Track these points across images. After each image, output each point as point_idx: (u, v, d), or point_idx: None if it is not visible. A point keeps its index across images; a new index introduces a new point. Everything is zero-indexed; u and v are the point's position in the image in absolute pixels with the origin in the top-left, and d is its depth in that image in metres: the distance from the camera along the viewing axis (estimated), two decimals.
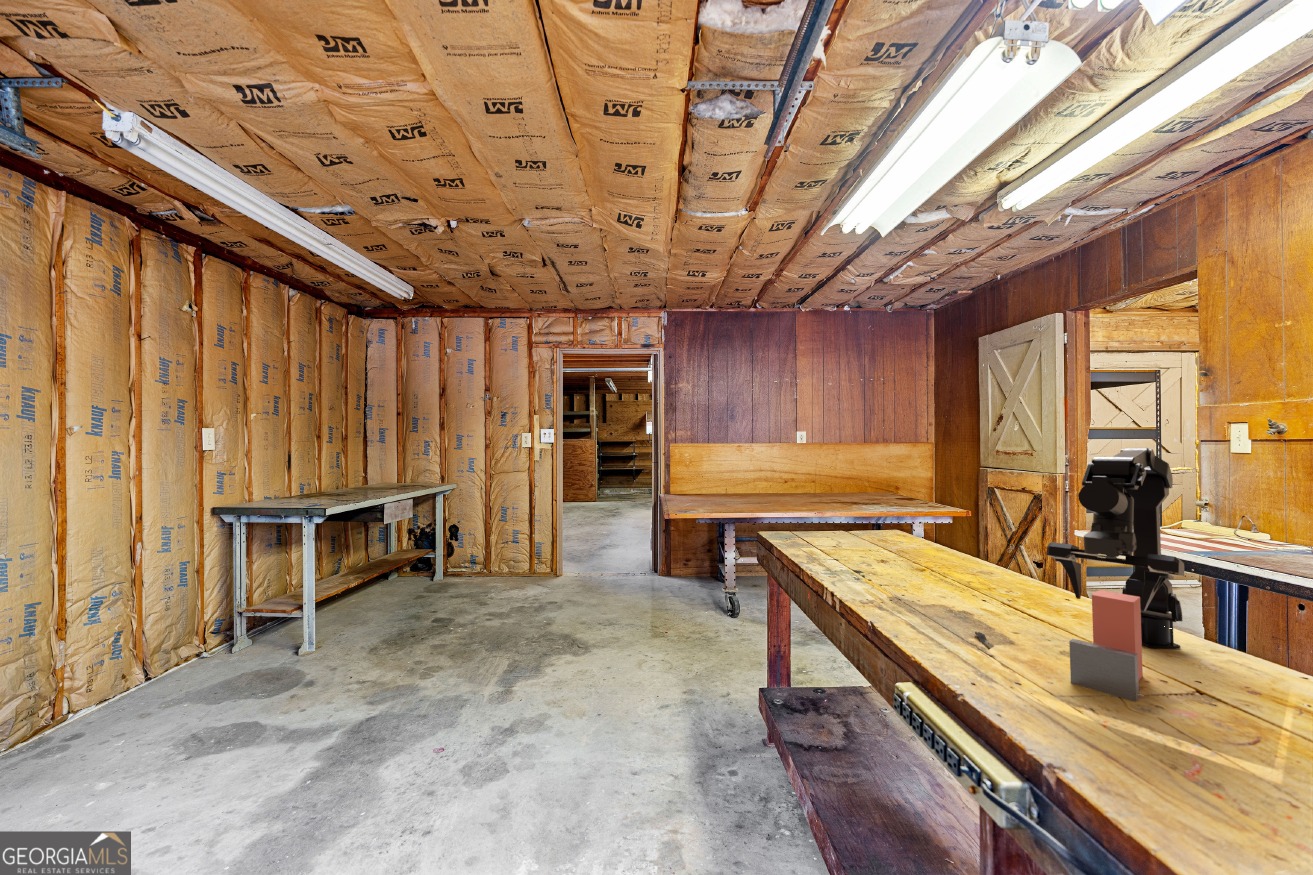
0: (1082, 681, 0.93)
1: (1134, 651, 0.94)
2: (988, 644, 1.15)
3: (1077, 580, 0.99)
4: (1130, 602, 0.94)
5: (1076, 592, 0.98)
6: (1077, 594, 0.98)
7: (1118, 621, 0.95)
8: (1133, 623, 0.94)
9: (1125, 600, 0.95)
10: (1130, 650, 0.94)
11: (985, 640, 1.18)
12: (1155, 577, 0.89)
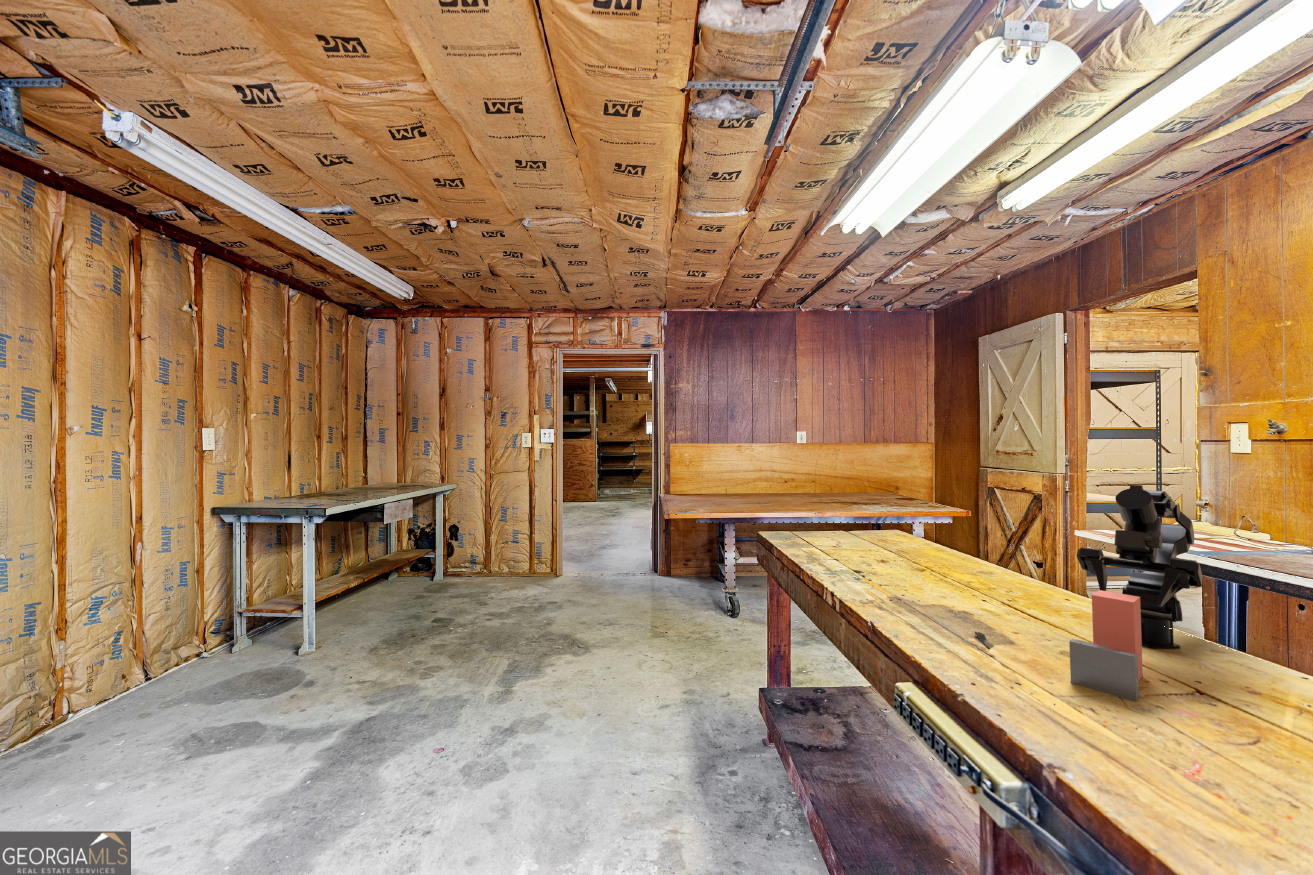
0: (1082, 681, 0.93)
1: (1134, 651, 0.94)
2: (988, 644, 1.15)
3: (1103, 579, 1.08)
4: (1130, 602, 0.94)
5: (1101, 588, 1.07)
6: (1102, 590, 1.07)
7: (1118, 621, 0.95)
8: (1133, 623, 0.94)
9: (1125, 600, 0.95)
10: (1130, 650, 0.94)
11: (985, 640, 1.18)
12: (1174, 574, 1.00)
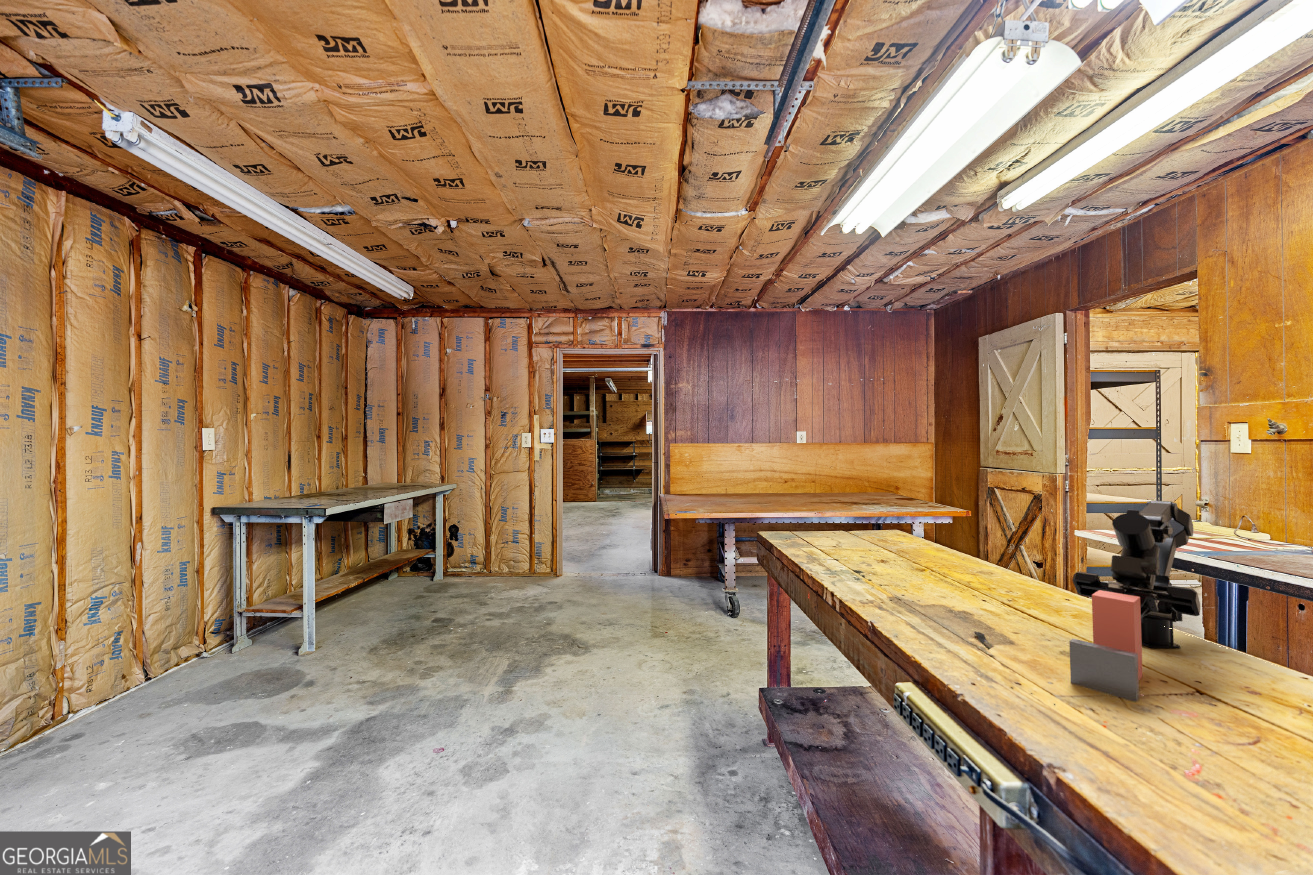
0: (1082, 681, 0.93)
1: (1134, 651, 0.94)
2: (987, 644, 1.15)
3: None
4: (1130, 602, 0.94)
5: None
6: None
7: (1118, 621, 0.95)
8: (1133, 623, 0.94)
9: (1125, 600, 0.95)
10: (1130, 650, 0.94)
11: (984, 640, 1.18)
12: (1142, 597, 1.01)
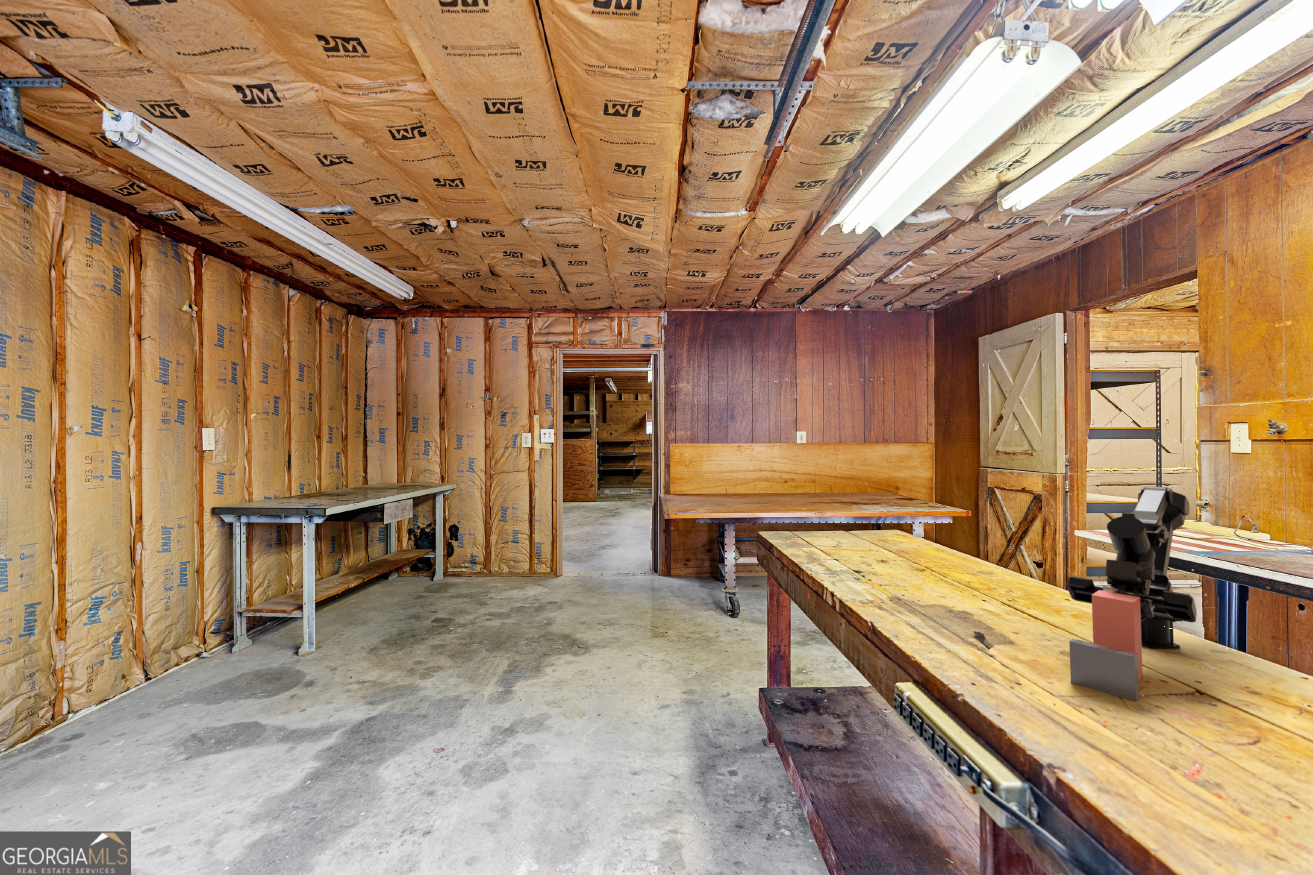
0: (1082, 681, 0.93)
1: (1134, 651, 0.94)
2: (987, 643, 1.15)
3: None
4: (1130, 602, 0.94)
5: None
6: None
7: (1118, 621, 0.95)
8: (1133, 623, 0.94)
9: (1125, 600, 0.95)
10: (1130, 650, 0.94)
11: (984, 639, 1.18)
12: None
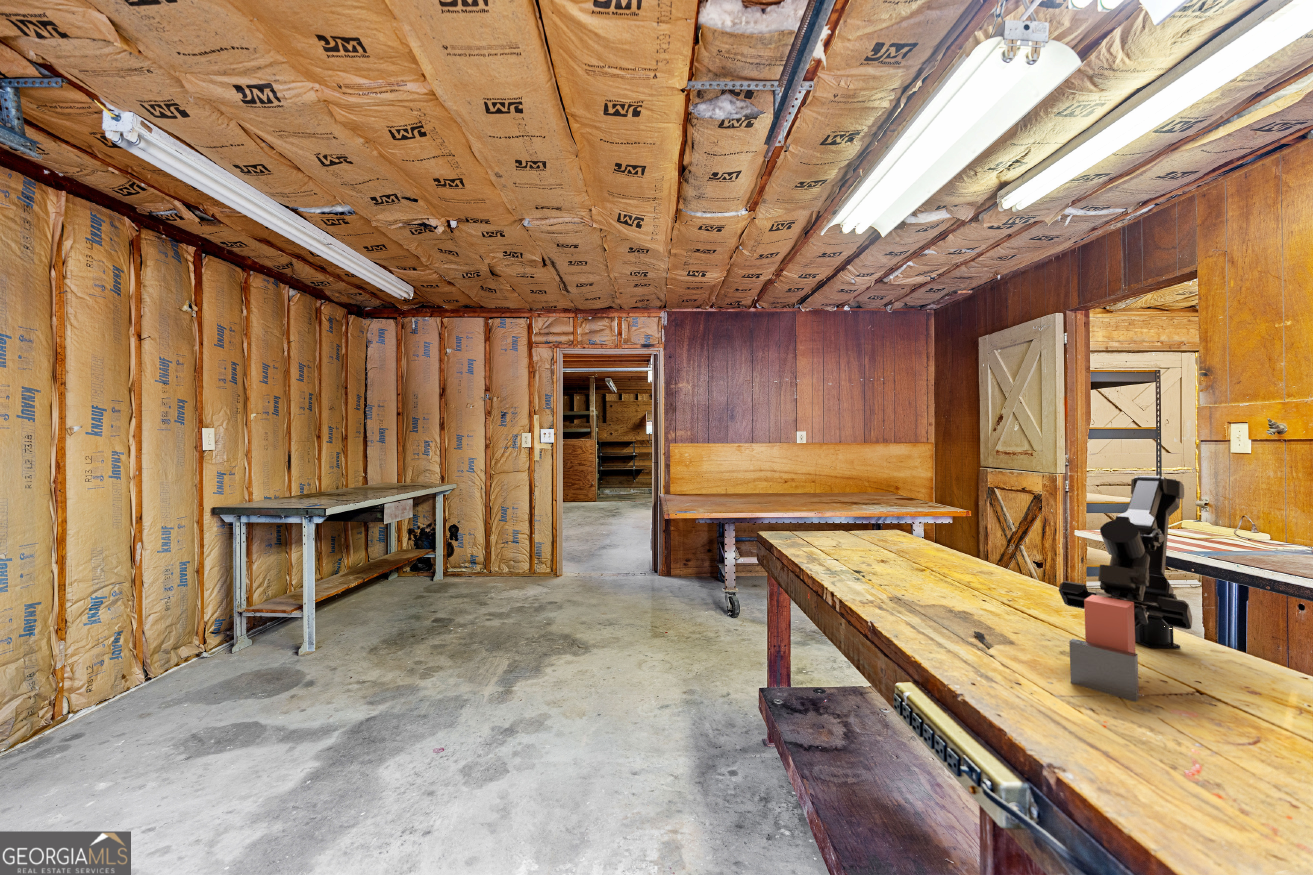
0: (1082, 681, 0.93)
1: None
2: (987, 643, 1.15)
3: None
4: (1123, 607, 0.91)
5: None
6: None
7: (1111, 627, 0.92)
8: (1126, 629, 0.91)
9: (1118, 605, 0.92)
10: None
11: (984, 639, 1.18)
12: None
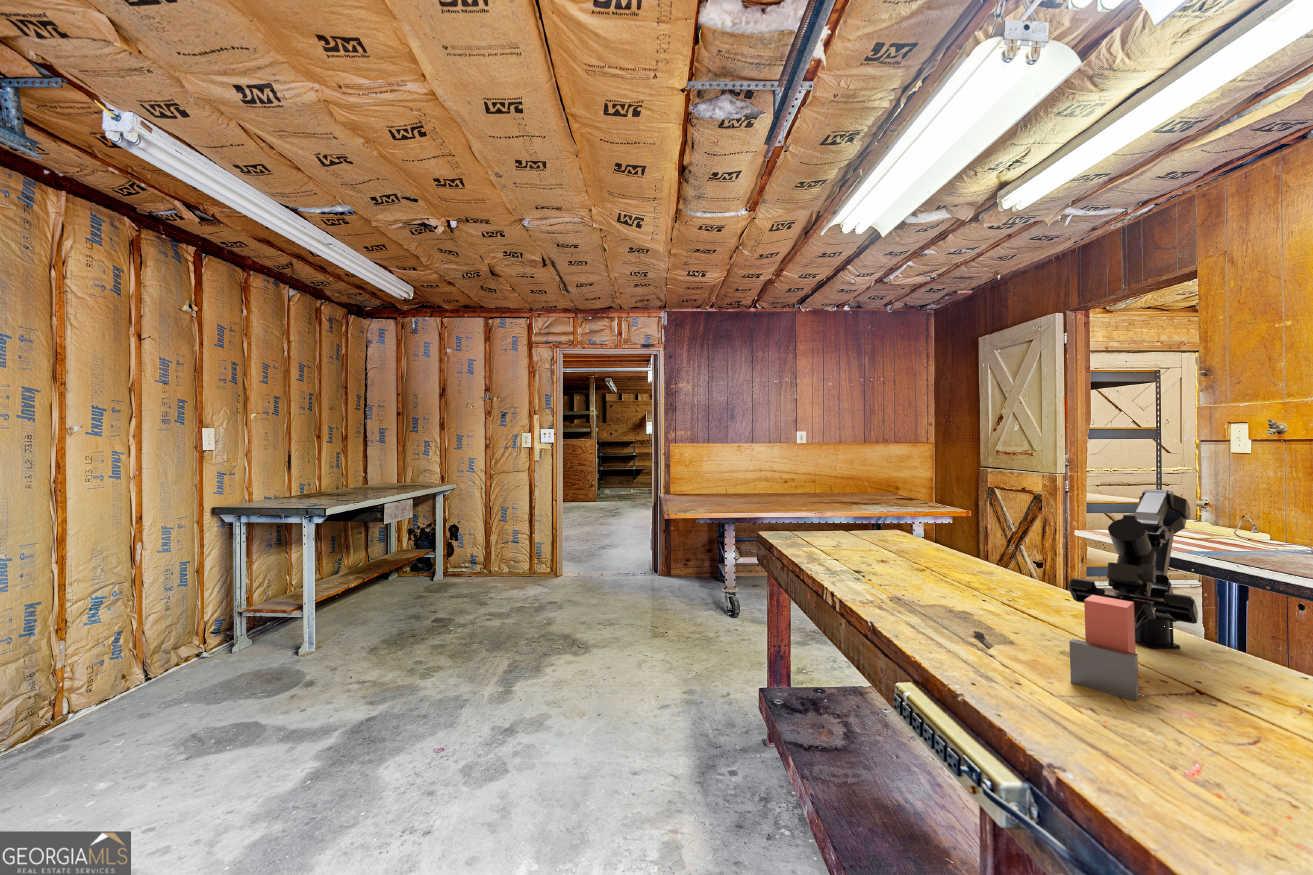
0: (1082, 681, 0.93)
1: None
2: (987, 643, 1.15)
3: None
4: (1123, 607, 0.91)
5: None
6: None
7: (1111, 627, 0.92)
8: (1126, 629, 0.91)
9: (1118, 605, 0.92)
10: None
11: (984, 639, 1.18)
12: (1139, 605, 1.00)
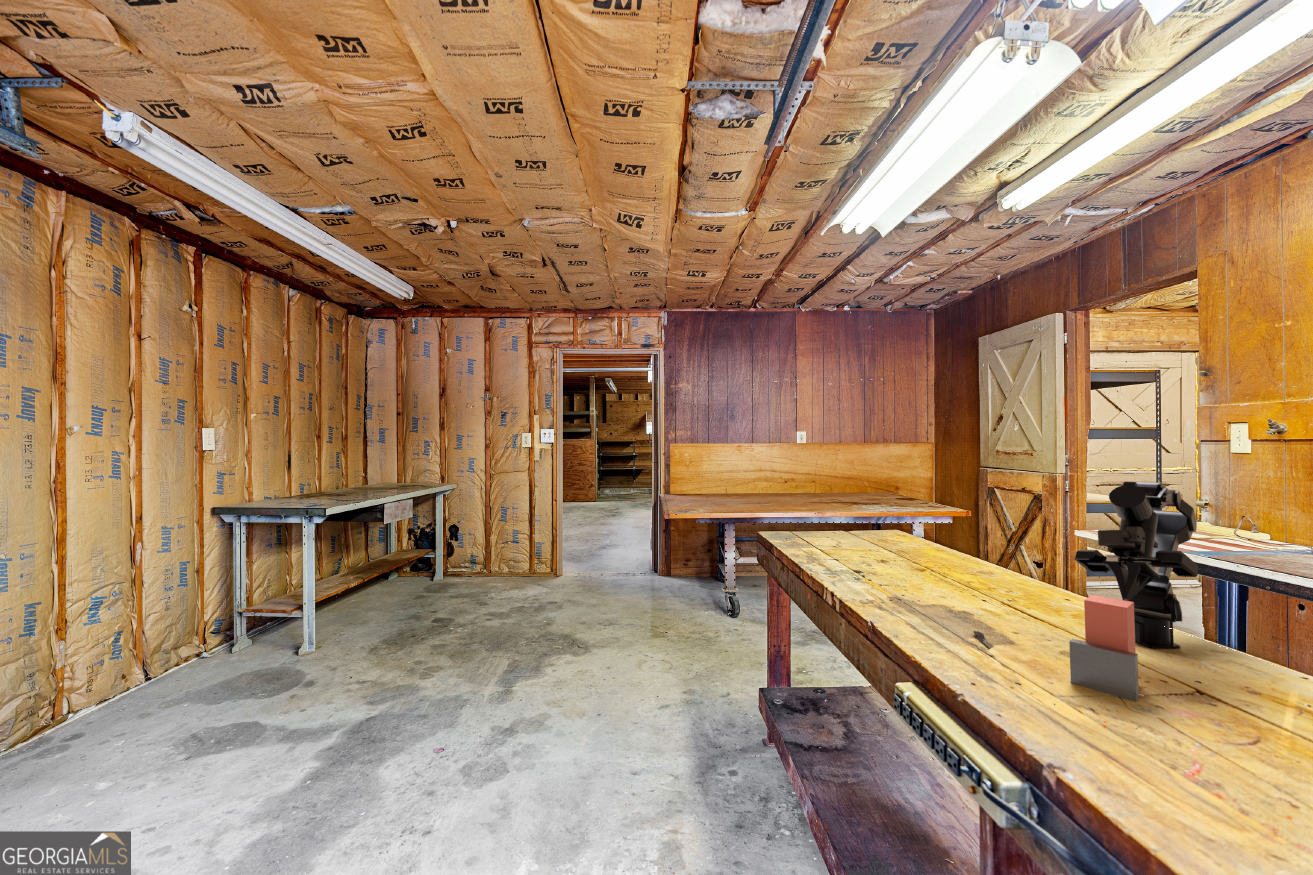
0: (1082, 681, 0.93)
1: None
2: (986, 643, 1.15)
3: (1124, 582, 1.05)
4: (1123, 607, 0.91)
5: (1122, 592, 1.05)
6: (1123, 593, 1.04)
7: (1111, 627, 0.92)
8: (1126, 629, 0.91)
9: (1118, 605, 0.92)
10: None
11: (984, 639, 1.18)
12: (1135, 567, 1.04)
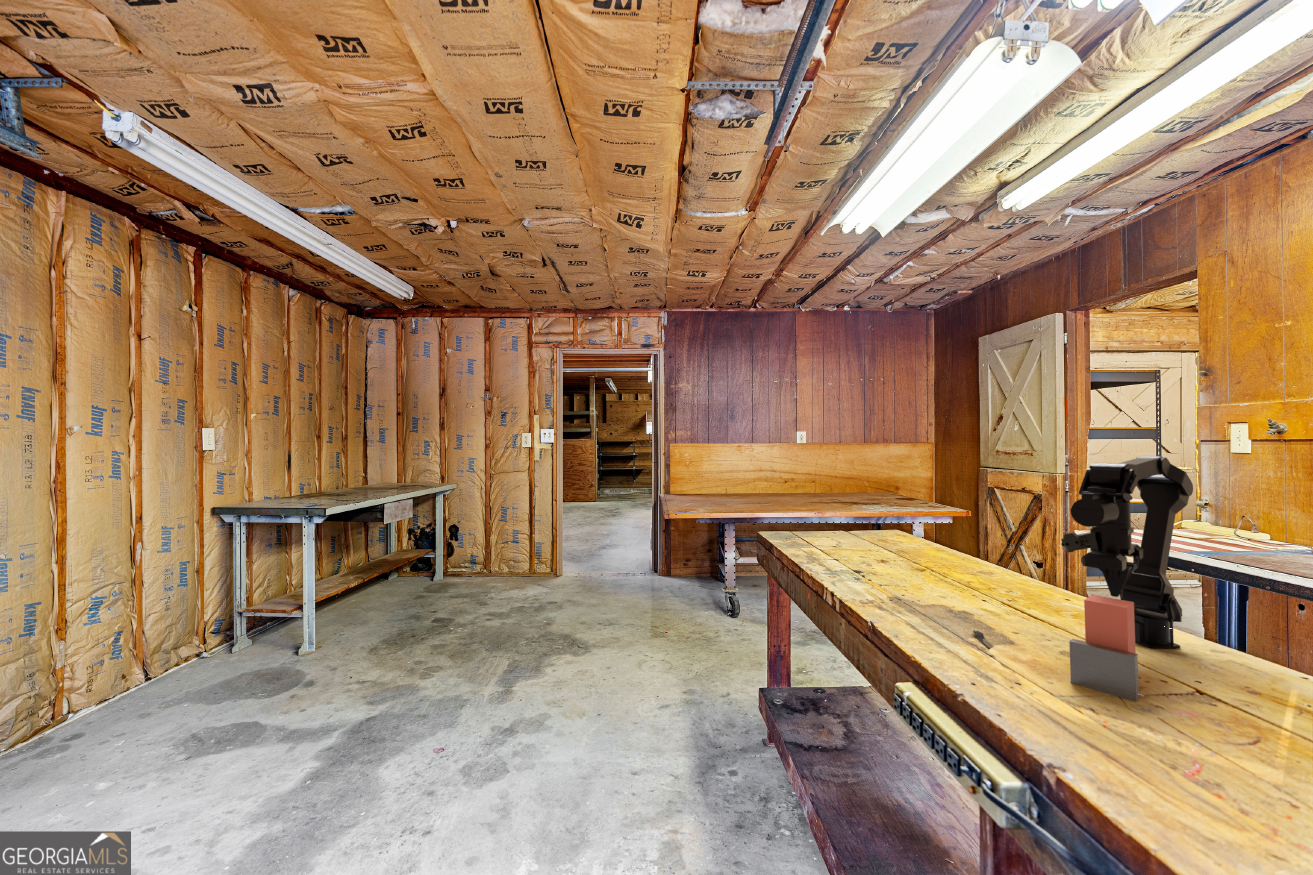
0: (1082, 681, 0.93)
1: None
2: (986, 642, 1.16)
3: None
4: (1123, 607, 0.91)
5: None
6: None
7: (1111, 627, 0.92)
8: (1126, 629, 0.91)
9: (1118, 605, 0.92)
10: None
11: (983, 639, 1.18)
12: None
